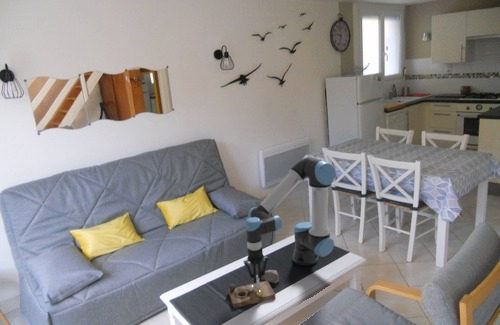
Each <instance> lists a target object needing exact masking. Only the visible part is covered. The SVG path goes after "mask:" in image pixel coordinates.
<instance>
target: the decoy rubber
mask: <svg viewBox="0 0 500 325" xmlns="http://www.w3.org/2000/svg"><path fill="white" fill-rule="evenodd" d="M235 288H237V287H236V284H234V283H231V284H229V286H228V289H230V290H231V291H234V290H235Z"/></svg>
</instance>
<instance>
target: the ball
mask: <svg viewBox="0 0 500 325" xmlns="http://www.w3.org/2000/svg"><path fill="white" fill-rule="evenodd" d="M248 290H249V292H254V291H255V287H254V286H252V285H251V286H249V288H248Z"/></svg>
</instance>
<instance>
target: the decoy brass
mask: <svg viewBox="0 0 500 325" xmlns="http://www.w3.org/2000/svg"><path fill="white" fill-rule="evenodd" d="M256 295H257V296H258V297H261V296H262V295H263V292H262V291H261V290H257V291H256Z"/></svg>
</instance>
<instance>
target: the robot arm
mask: <svg viewBox="0 0 500 325" xmlns="http://www.w3.org/2000/svg"><path fill="white" fill-rule="evenodd" d="M288 171H289V172H288V173H287V175H286V176H285V177H284V178H283V179H282V180H281V181H280V182H279V183H278V185H276V187H275V188H274V189H272V190H271V192H270V193H269V194H268V195H267V196H266V197H265V198H264V199H263V200H262V202H260V203H259V205H258V206H255V207H251V208H249V210H248V213H247V216H248V218H247V219H246V220H245V233H246V234H245V235H246V245H247V246H246V247H247V259H246V260H243V264H244V266H245V267H246V269H247V273H248V274H249V276H250V278H251V279H253V282H254V283H253V284H255V283H256V288H257V289H260V282H262V277H263V276H264V274H265V271H266V269H267V268H266V267H267V263H268V260H269V258H268V256H267V255H264V254H263V252H264V251H263V241H262V238H263V237H262V236H263V235H267V234H269V233H273V232H276V231H278V230H281V229H282V227H283V221H282V218H281V217H280V215H278V214H277V215H276V214H275V215H272V216H271V215H270V214H271V213H272V212H273V211H274V210H275V209H276V208H277V207H278V206H279V205H280V204H281V202H283V200H284V199H285V198H286V197H287V196H288V195H289V194H290V193H291V192H292V191H293V190H294V188H295V187H296V186H297V185H298V184H299V183H302V182H304V180H306V179H308V185H309V187H310V188H311V222H310V221H309V222H307V221H303V222H300V223H297V224H295V225H294V230H293V232H294V234H293V235H294V250H293V255H292V261H293V263H295V264H296V265H299V266H302V267H303V266H304V267H306V266H307V267H308V266H312V265H315V264H317V263H318V262H319V257H327V256H329V255H330V253H331V252H332V251H333V250H334V247H335V242H334V240H333V239H332V238H331V232H330V230H329V228H328V207H329V206H328V205H329V202H328V201H329V196H328V195H329V188H331V186H332V183H333V182H334V180H335V179H336V175H337V174H336V173H337V172H336V168H335V166H334V165H333V164H331V163H329V162H327V161H325V160H321V159H318V158H315V157H305V158H303V159H301V160H299V161H298V162H296V163H295V164H294V165H293V166H292V167H291V168H290V169H289V170H288ZM249 263H250V264H251V268H252V269H251V268H250V265H249ZM261 263H262V264H261ZM256 268H257V269H256ZM251 270H252V271H251Z"/></svg>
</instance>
